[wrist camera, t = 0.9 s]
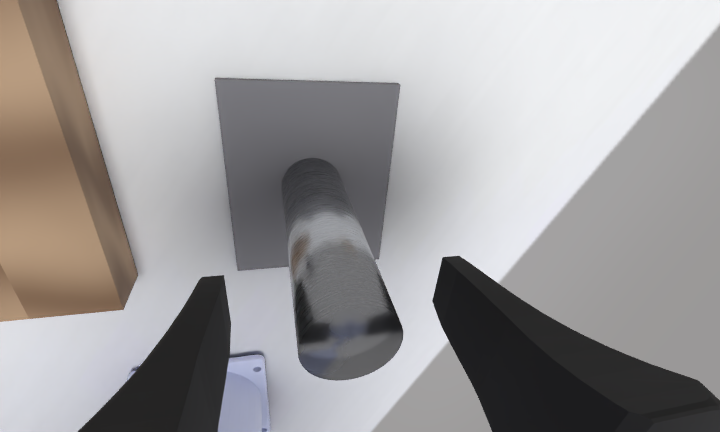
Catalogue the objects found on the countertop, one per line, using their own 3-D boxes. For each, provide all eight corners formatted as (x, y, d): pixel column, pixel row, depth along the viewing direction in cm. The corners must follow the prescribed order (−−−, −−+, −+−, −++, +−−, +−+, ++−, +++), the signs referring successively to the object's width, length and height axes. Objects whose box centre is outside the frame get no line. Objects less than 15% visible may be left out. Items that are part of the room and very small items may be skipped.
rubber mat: (377, 256, 23) (378, 259, 22) (238, 267, 21) (237, 270, 20) (398, 83, 17) (400, 84, 17) (215, 77, 16) (214, 79, 15)
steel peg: (340, 210, 20) (396, 372, 12) (282, 213, 19) (298, 387, 11) (342, 157, 18) (410, 300, 10) (280, 158, 18) (297, 313, 9)
